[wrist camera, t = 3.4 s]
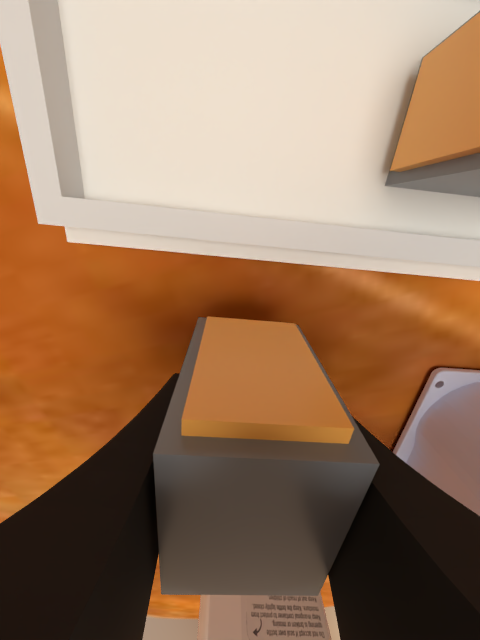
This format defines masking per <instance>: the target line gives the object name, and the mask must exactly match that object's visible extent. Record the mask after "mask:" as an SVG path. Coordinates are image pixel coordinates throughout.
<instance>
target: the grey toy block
mask: <svg viewBox="0 0 480 640" xmlns="http://www.w3.org/2000/svg"><path fill="white" fill-rule="evenodd" d="M385 186H389V187H398V188H406V189H415V190H423V191H431V192H440V193H448V194H457V195H465V196H474V197H480V11H479V12H477V13H476V14H475V15H474V16H473V17H471V18H470V19H469V20H468V21H466V22H465V23H464V24H463V25H462V26H460V27H459V28H458V29H457V30H455V31H454V32H453V33H452V34H451V35H449V36H448V37H447V38H446V39H444V40H443V41H442V42H441V43H440V44H438V45H437V46H436V47H435V48H433V49H432V50H431V51H430V52H429V53H427V54H426V55H425V56H424V57H422V60H421V63H420V67H419V70H418V74H417V77H416V80H415V84H414V87H413V91H412V94H411V98H410V101H409V104H408V108H407V111H406V115H405V118H404V122H403V125H402V128H401V132H400V135H399V139H398V142H397V145H396V149H395V152H394V156H393V159H392V163H391V166H390V169H389V173H388V176H387V180H386V183H385Z"/></svg>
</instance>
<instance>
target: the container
mask: <svg viewBox="0 0 480 640" xmlns="http://www.w3.org/2000/svg"><path fill="white" fill-rule="evenodd" d="M197 640H331V636H330V631H329V627H328V623H327V619H326V614H325V610H324V606H323V601H322V597H321V593H320V592H319V595H318V596H277V595H201V599H200V612H199V624H198V636H197Z"/></svg>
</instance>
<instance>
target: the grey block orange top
mask: <svg viewBox="0 0 480 640" xmlns="http://www.w3.org/2000/svg"><path fill="white" fill-rule="evenodd" d="M153 462H154V479H155V496H156V512H157V529H158V546H159V563H160V579H161V594H174V595H277V596H318V595H319V592H320V590H321V588H322V586H323V584H324V582H325V580H326V577H327V575H328V573H329V571H330V569H331V567H332V565H333V563H334V560H335V558H336V556H337V554H338V552H339V550H340V548H341V546H342V543H343V541H344V539H345V537H346V535H347V533H348V531H349V529H350V526H351V524H352V522H353V520H354V518H355V516H356V514H357V511H358V509H359V507H360V505H361V503H362V501H363V499H364V497H365V494H366V492H367V490H368V488H369V486H370V484H371V482H372V480H373V477H374V475H375V473H376V471H377V469H378V467H379V465H380V464H379V462H378V460H377V459H376V457H375V455H374V453H373V452H372V450H371V448H370V447H369V445H368V443H367V442H366V440H365V438H364V436H363V435H362V433H361V431H360V430H359V428H358V426H357V424H356V423H355V421H354V419H353V418H352V416H351V414H350V412H349V411H348V409H347V407H346V406H345V404H344V402H343V401H342V399H341V397H340V395H339V394H338V392H337V390H336V389H335V387H334V385H333V383H332V382H331V380H330V378H329V377H328V375H327V373H326V371H325V370H324V368H323V366H322V365H321V363H320V361H319V360H318V358H317V356H316V354H315V353H314V351H313V349H312V348H311V346H310V344H309V342H308V341H307V339H306V337H305V336H304V334H303V332H302V330H301V329H300V327H299V325H296V324H295V323H284V322H272V321H259V320H247V319H234V318H222V317H209V316H207V318H204V317H199V318H198V321H197V324H196V327H195V330H194V333H193V336H192V339H191V342H190V345H189V348H188V351H187V354H186V357H185V360H184V363H183V366H182V369H181V372H180V375H179V378H178V381H177V384H176V387H175V390H174V393H173V396H172V399H171V402H170V405H169V408H168V411H167V414H166V417H165V420H164V423H163V426H162V429H161V432H160V435H159V438H158V441H157V444H156V447H155V450H154V453H153Z"/></svg>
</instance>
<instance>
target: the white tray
mask: <svg viewBox="0 0 480 640" xmlns="http://www.w3.org/2000/svg"><path fill="white" fill-rule="evenodd" d="M479 11H480V0H0V45H1V49H2V54H3V59H4V64H5V68H6V73H7V78H8V82H9V87H10V92H11V97H12V101H13V106H14V111H15V115H16V120H17V125H18V130H19V134H20V139H21V144H22V148H23V153H24V158H25V163H26V167H27V172H28V177H29V181H30V186H31V191H32V196H33V200H34V205H35V210H36V214H37V219H38V224H47V225H57V226H65V231H66V237H67V242H74V243H85V244H95V245H106V246H117V247H127V248H138V249H148V250H159V251H169V252H180V253H191V254H201V255H212V256H222V257H233V258H243V259H254V260H265V261H275V262H286V263H296V264H307V265H317V266H328V267H339V268H349V269H360V270H370V271H381V272H392V273H402V274H413V275H423V276H434V277H444V278H455V279H466V280H476V281H480V197H474V196H465V195H457V194H448V193H440V192H431V191H423V190H415V189H406V188H398V187H389V186H385V183H386V180H387V176H388V173H389V169H390V166H391V163H392V159H393V156H394V152H395V149H396V145H397V142H398V139H399V135H400V132H401V128H402V125H403V122H404V118H405V115H406V111H407V108H408V104H409V101H410V98H411V94H412V91H413V87H414V84H415V80H416V77H417V74H418V70H419V67H420V63H421V60H422V57H424V56H425V55H426V54H427V53H429V52H430V51H431V50H432V49H433V48H435V47H436V46H437V45H438V44H440V43H441V42H442V41H443V40H444V39H446V38H447V37H448V36H449V35H451V34H452V33H453V32H454V31H455V30H457V29H458V28H459V27H460V26H462V25H463V24H464V23H465V22H466V21H468V20H469V19H470V18H471V17H473V16H474V15H475V14H476V13H477V12H479Z"/></svg>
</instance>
